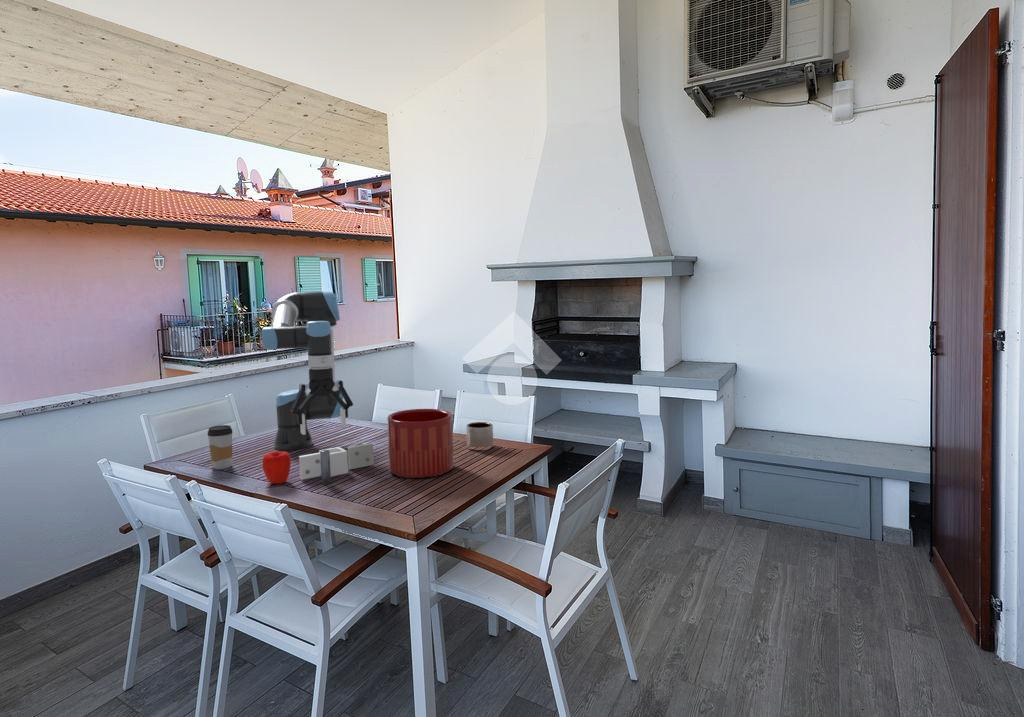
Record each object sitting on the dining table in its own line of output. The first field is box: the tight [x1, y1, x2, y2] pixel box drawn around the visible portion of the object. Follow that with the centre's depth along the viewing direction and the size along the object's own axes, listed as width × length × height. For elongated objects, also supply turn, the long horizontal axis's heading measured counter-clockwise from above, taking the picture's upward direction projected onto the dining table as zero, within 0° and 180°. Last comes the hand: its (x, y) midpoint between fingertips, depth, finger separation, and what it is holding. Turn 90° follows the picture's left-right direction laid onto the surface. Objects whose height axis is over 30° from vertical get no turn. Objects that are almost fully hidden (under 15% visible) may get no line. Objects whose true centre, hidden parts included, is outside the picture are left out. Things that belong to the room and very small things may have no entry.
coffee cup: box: [207, 424, 234, 470], centre depth 213 cm, size 8×8×15 cm
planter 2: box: [466, 421, 494, 448], centre depth 236 cm, size 11×11×10 cm
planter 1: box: [386, 408, 454, 479], centre depth 207 cm, size 23×23×20 cm
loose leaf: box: [347, 442, 375, 470], centre depth 211 cm, size 2×9×8 cm, turn 125°
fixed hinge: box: [298, 446, 349, 481], centre depth 203 cm, size 7×15×8 cm, turn 127°
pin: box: [320, 449, 332, 485], centre depth 194 cm, size 3×3×11 cm
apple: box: [262, 450, 292, 485], centre depth 194 cm, size 9×9×11 cm
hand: (323, 430), depth 193 cm, fingers open, 13 cm apart
